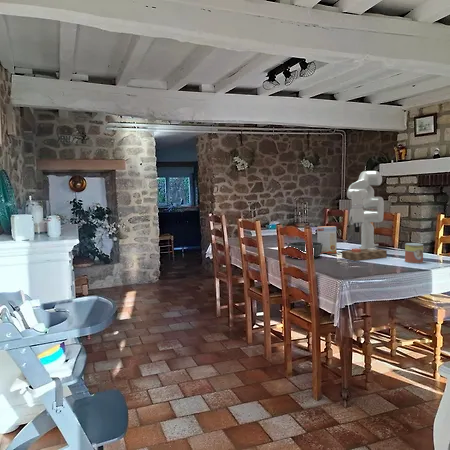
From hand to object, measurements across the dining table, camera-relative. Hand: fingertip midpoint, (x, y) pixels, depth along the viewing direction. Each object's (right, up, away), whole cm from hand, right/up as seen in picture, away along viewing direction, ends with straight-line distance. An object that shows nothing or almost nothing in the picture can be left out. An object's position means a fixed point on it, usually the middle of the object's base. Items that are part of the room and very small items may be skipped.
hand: (357, 232), depth 300 cm
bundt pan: (-36, -19, +10) cm, 42 cm away
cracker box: (-16, -17, +23) cm, 33 cm away
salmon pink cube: (-2, -16, -4) cm, 17 cm away
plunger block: (+5, -18, -1) cm, 19 cm away
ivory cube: (+11, -16, +1) cm, 20 cm away
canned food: (+32, -20, -21) cm, 43 cm away
